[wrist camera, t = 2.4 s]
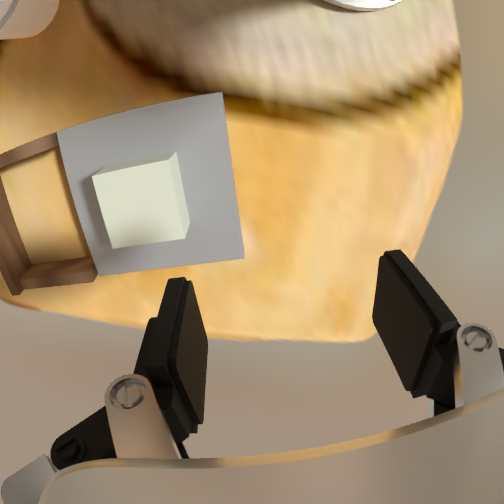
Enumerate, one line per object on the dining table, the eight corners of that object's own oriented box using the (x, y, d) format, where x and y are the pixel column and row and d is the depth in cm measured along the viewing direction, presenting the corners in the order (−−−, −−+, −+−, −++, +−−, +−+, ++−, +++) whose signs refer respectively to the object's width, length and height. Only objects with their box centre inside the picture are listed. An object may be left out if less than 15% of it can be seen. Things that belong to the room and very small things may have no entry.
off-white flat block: (176, 151, 23) (168, 159, 20) (190, 222, 26) (185, 238, 23) (106, 166, 23) (91, 176, 21) (123, 232, 26) (112, 248, 23)
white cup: (75, -24, 16) (36, -44, 10) (52, 44, 19) (6, 39, 13) (21, -18, 15) (-21, -30, 9) (1, 45, 18) (-45, 45, 12)
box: (64, 129, 23) (41, 137, 20) (103, 265, 30) (89, 288, 26) (-12, 159, 23) (-35, 171, 20) (28, 275, 30) (12, 295, 26)
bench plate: (222, 92, 23) (221, 91, 21) (243, 247, 30) (244, 258, 28) (67, 128, 23) (56, 132, 21) (105, 265, 30) (99, 275, 28)
